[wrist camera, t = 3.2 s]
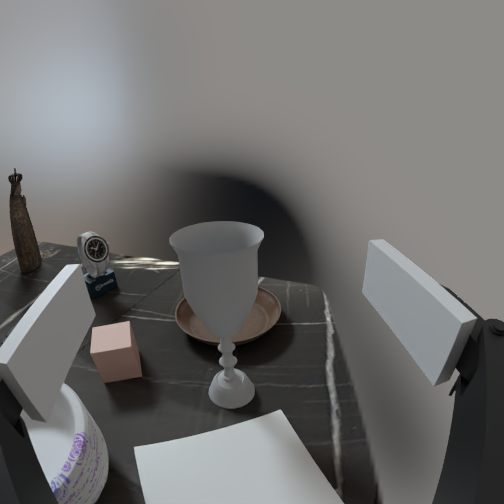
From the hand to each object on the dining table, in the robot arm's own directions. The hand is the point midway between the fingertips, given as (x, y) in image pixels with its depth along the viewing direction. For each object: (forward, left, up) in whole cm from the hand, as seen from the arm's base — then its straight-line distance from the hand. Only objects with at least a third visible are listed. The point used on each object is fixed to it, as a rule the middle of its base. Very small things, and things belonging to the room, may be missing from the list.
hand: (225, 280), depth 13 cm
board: (-2, -2, -20) cm, 20 cm away
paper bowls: (-19, +3, -20) cm, 28 cm away
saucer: (+6, +23, -20) cm, 31 cm away
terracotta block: (-10, +18, -20) cm, 29 cm away
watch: (-14, +40, -20) cm, 47 cm away
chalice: (+2, +10, -20) cm, 23 cm away
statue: (-36, +60, -20) cm, 73 cm away
